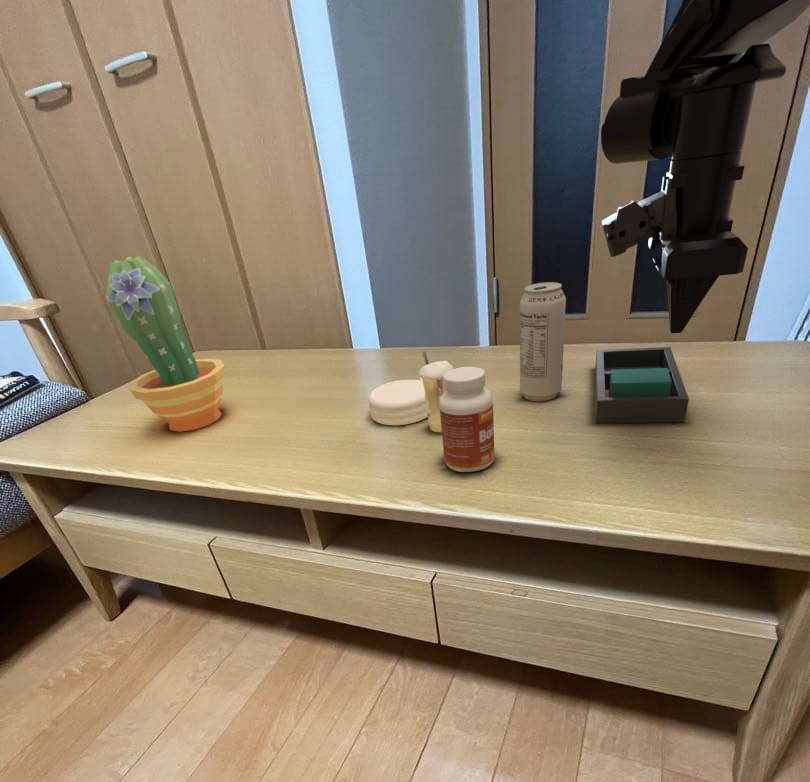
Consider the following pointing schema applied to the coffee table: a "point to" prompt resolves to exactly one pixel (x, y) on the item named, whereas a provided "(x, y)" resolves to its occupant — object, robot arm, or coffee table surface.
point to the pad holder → (638, 407)
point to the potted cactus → (163, 348)
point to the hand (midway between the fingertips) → (675, 332)
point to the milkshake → (433, 389)
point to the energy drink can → (542, 340)
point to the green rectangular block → (640, 383)
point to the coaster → (398, 403)
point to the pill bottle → (467, 420)
